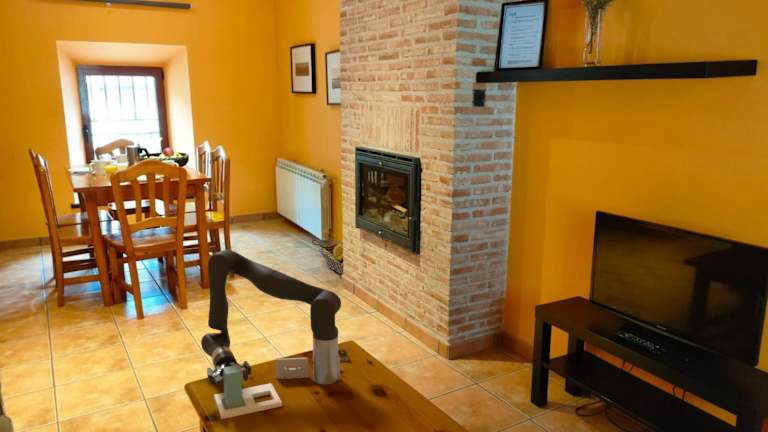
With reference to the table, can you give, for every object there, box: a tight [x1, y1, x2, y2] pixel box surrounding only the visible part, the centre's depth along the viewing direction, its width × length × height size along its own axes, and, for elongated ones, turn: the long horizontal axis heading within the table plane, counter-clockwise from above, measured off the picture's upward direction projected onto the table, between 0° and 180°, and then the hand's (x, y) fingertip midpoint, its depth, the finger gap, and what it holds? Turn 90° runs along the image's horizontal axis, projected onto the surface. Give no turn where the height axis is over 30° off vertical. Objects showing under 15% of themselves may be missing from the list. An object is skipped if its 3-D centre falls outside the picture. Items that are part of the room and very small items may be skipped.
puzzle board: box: [213, 382, 283, 420], centre depth 198 cm, size 20×14×2 cm
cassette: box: [275, 357, 309, 380], centre depth 215 cm, size 12×2×8 cm, turn 97°
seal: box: [338, 348, 350, 363], centre depth 232 cm, size 9×5×15 cm
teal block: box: [222, 365, 243, 407], centre depth 193 cm, size 5×5×12 cm
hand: (233, 381), depth 192 cm, fingers open, 8 cm apart
